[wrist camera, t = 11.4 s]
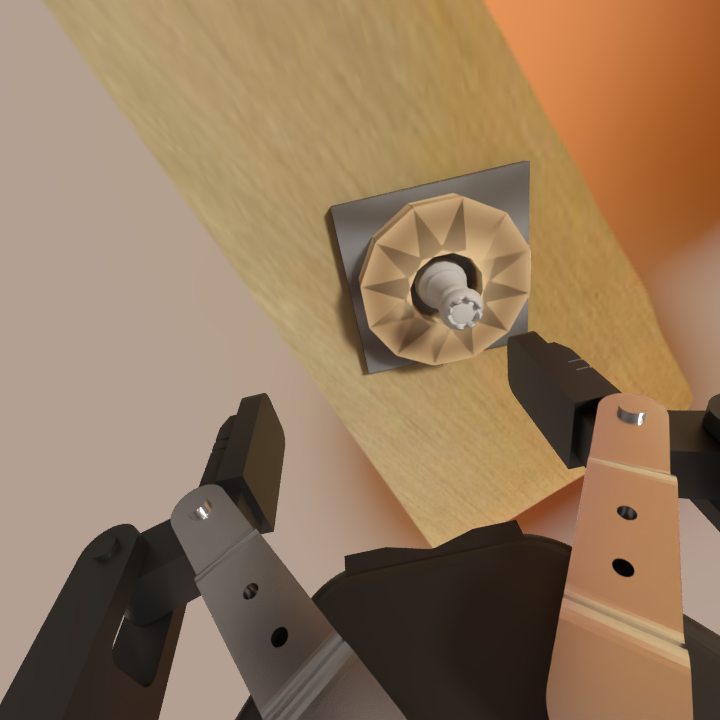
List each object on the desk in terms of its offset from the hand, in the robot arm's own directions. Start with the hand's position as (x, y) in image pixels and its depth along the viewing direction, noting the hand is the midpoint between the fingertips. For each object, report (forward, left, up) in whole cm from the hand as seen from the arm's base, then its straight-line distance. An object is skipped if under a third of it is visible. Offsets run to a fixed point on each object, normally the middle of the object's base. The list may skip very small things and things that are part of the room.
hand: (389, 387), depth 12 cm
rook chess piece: (+5, +7, -22) cm, 24 cm away
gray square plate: (+5, +7, -23) cm, 24 cm away
